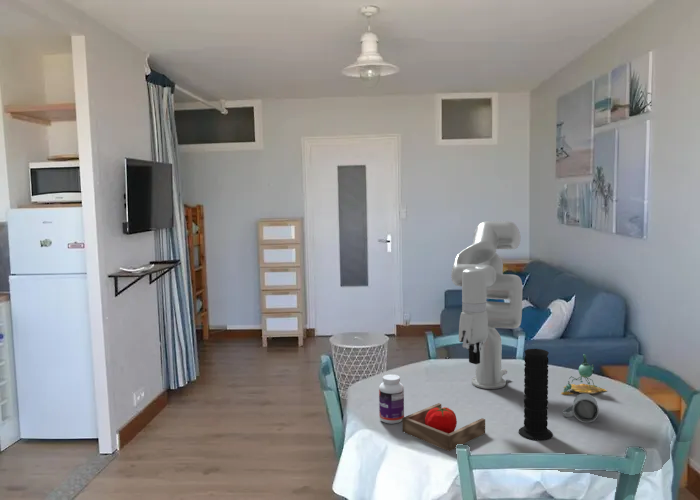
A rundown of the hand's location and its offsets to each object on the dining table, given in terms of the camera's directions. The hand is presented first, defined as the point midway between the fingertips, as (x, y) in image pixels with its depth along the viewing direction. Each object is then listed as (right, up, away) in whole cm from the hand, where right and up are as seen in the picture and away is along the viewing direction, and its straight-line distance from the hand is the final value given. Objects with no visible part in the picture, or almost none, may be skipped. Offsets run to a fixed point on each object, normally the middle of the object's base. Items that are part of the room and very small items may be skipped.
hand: (474, 362), depth 186 cm
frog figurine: (+44, -15, +23) cm, 52 cm away
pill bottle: (-26, -19, +2) cm, 33 cm away
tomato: (-12, -20, -9) cm, 25 cm away
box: (-11, -20, -8) cm, 24 cm away
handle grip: (+16, -20, -10) cm, 28 cm away
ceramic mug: (+34, -18, 0) cm, 39 cm away
